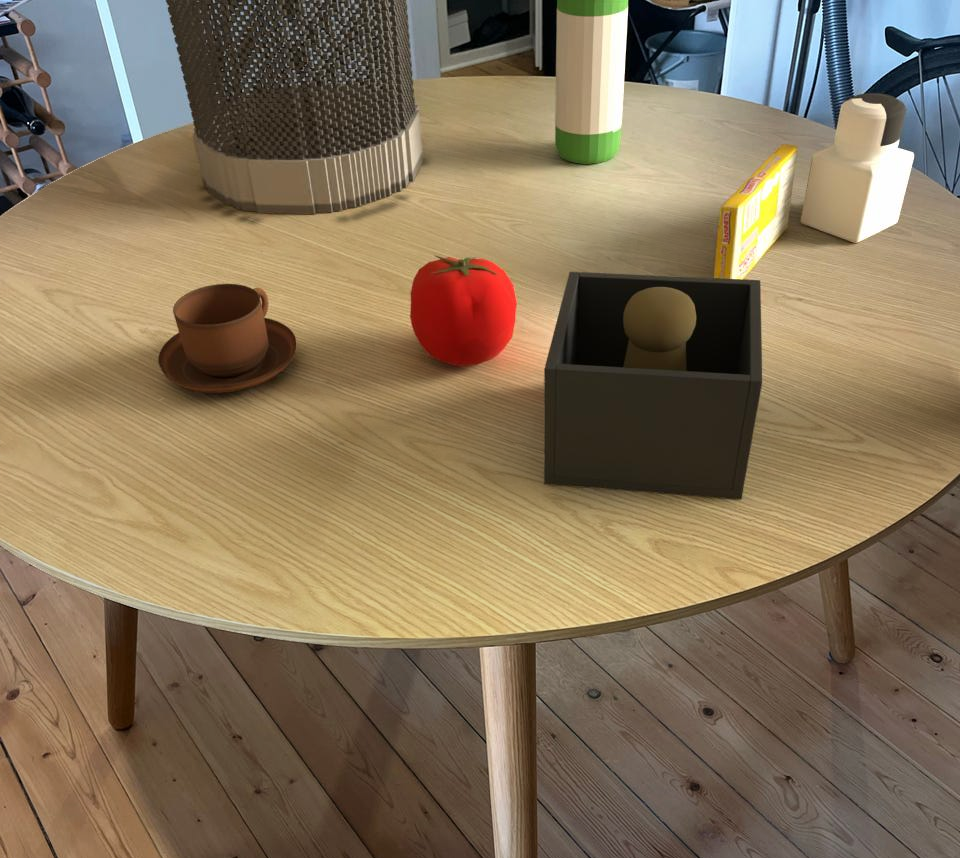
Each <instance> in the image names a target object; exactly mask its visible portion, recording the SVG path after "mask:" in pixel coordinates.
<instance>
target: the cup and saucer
mask: <svg viewBox="0 0 960 858" xmlns="http://www.w3.org/2000/svg"><path fill="white" fill-rule="evenodd" d="M268 310H269V297H268V295H267V293H266V291H265V290H264V289H263V288H262V287H254V288H252V287H250V286H247V285H243V284H238V283H216V284H210V285H205V286H202V287H198V288H196V289H193V290H191V291H189V292H187V293H185V294H184V295H182V296H181V297H180V298H178V300H176V302H175V303H174V305H173V307H172V313H173V316H174V320H175V323H176V327H177V330H178V332H177V333H176V334H174V335H173V336H172V337H170V338H169V339H168V340H166V342H165V343H163V345H162V347H161V348H160V350H159V353H158V356H157V362H158V366H159V369H160V370H161V372H162V373H163V375H164V376H165V378H167V380H169V381H171V382H172V383H173V384H175V385H178V386H180V387H182V388H185V389H188V390H190V391H195V392H201V393H210V394H213V393H215V394H217V393H218V394H221V393H222V394H223V393H233V392H238V391H242V390H247V389H250V388H254V387H256V386H259V385H262V384H264V383H265V382H268V381H269V380H270V381H271V379H273V378H275V377H276V376H277V375H279V374H280V373H281V372H282V371H284V370H285V369H286V368H287V366H288V365H289V364H290V363H291V362H292V360H293V359H294V358H295V355H296V353H297V352H296V351H297V338H296V335H295V333H294V332H293V330H292V329H291V328H289V327H288V326H287V325H285V324H284V323H282V322H281V321H278V320H276V319H272V318H268V317H266V315H267V313H268Z"/></svg>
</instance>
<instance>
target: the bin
mask: <svg viewBox="0 0 960 858" xmlns="http://www.w3.org/2000/svg"><path fill="white" fill-rule="evenodd" d="M653 287H668V288H673V289H676V290H679V291H681V292H683V293H685V294H686V295H688V296H689V297H690V298H691V300H692V302H693V303H694V305H695V311H696V325H695V328H694V330H693V333H692V335H691V337H690V338H689V339H688V340H687V341H686V369H687V371H673V370H656V369H639V368H623V366H624V361H625V357H626V352H627V347H628V343H629V338H628V336H627V335H626V334H625V330H624V323H623V316H624V310H625V307H626V305H627V303H628V301H629V300H630V299H631V297H632V296H633V295H634V294H636V293H637V292H639V291H642V290H645V289H647V288H653ZM761 287H762V285H761V279H746V278H743V279H724V278H714V277H701V276H700V277H698V276H677V275H674V276H673V275H656V274H655V275H654V274H635V273H634V274H633V273H609V272H587V271H586V272H585V271H582V272H581V271H569V272H568V277H567V281H566V284H565V288H564V292H563V296H562V300H561V304H560V307H559V311H558V315H557V319H556V323H555V326H554V329H553V330H554V331H553V335H552V337H551V341H550V345H549V350H548V354H547V357H546V361H545V365H544V370H543V371H544V373H543V374H544V375H543V377H544V379H543V386H544V387H543V391H544V392H543V394H544V396H543V485H548V486H549V485H550V486H562V487H575V488H589V489H600V490H612V491H613V490H616V491H628V492H640V493H651V494H652V493H653V494H666V495H681V496H690V497H691V496H693V497H705V498H706V497H707V498H719V499H731V500H742V499H743V495H744V494H743V493H744V490H745V489H744V488H745V482H746V476H747V473H748V472H747V471H748V466H749V460H750V454H751V449H752V443H753V438H754V432H755V426H756V420H757V415H758V409H759V404H760V400H761V399H760V398H761V393H762V387H763V346H762V345H763V343H762V341H763V340H762V339H763V338H762V334H763V333H762V293H761V292H762V289H761Z"/></svg>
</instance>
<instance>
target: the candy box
mask: <svg viewBox="0 0 960 858" xmlns="http://www.w3.org/2000/svg"><path fill="white" fill-rule="evenodd" d="M797 155H798V145H794V144H793V145H792V144H784V143H782V144H780V146H779V147H778V148H777V149H775V151H774V152H773V153H772V154H771V155H770V156H769V157H768V158H767V159H766V160H765V162H763V163H762V164H761V165H760V166H759V167H758V168H757V170H755V171H754V172H753V174H751V176H749V178H748V179H747V180H746V181H745V182H744V183H742V185H741V186H740V187H739V188H738V189H737V190H736V191H735V192H734V193H733V194H731V196H729V198H728V199H727V200H726V201H725V202H724V203H723V204H722V205H721V206H720V211H719V219H718V226H717V238H716V239H717V240H716V249H715V261H714V271H713V278H724V279H745V277H746V276H747V275H748V274H749V272H750V271H751V270H752V269H753V268H754V267H755V266H756V264H757V263H758V262H759V261H760V260H761V259H762V257H763V256H764V255H765V254H767V252H768V251H769V249H770V248H771V247H772V246H773V244H775V242H776V241H777V240H778V238H780V236H782V234H783V233H785V231H786V230H787V228H788V225H789V224H788V223H789V217H790V216H789V215H790V208H791V202H792V195H793V187H794V186H793V185H794V177H795V170H796V164H797V163H796V162H797Z"/></svg>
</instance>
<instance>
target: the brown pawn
mask: <svg viewBox="0 0 960 858" xmlns="http://www.w3.org/2000/svg"><path fill="white" fill-rule="evenodd" d="M623 323H624V330H625V334H626V335H627V336H628V338H629V343H628V347H627V352H626V357H625V361H624V366H623V368H639V369H656V370H673V371H687V369H686V341H687V340H688V339H689V338H690V337H691V335H692V333H693V330H694V328H695V325H696V311H695V305H694V303H693V302H692V300H691V298H690V297H689V296H688V295H686V294H685V293H683V292H681V291H679V290H676V289H673V288H668V287H653V288H647V289H645V290H642V291H639V292H637V293H636V294H634V295H633V296H632V297H631V299H630V300H629V301H628V303H627V305H626V307H625V310H624V316H623Z"/></svg>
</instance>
